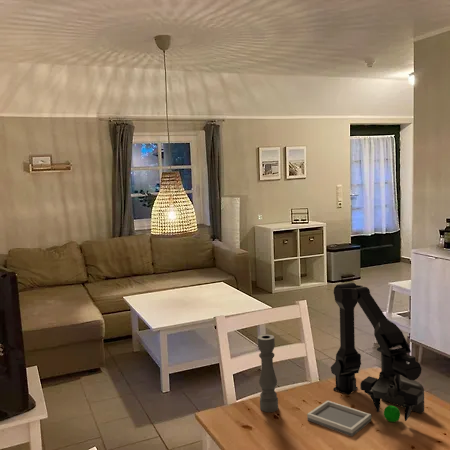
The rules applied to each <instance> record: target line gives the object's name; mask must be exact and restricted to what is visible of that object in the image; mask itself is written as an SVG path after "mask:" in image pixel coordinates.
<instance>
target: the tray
mask: <svg viewBox="0 0 450 450" xmlns="http://www.w3.org/2000/svg"><path fill="white" fill-rule="evenodd" d="M306 416H307V418H306V419H307V421H309V422H312V423H314V424H317V425H319V426H322V427H325V428H327V429H330V430H333V431H336V432H338V433H341V434H344V435H346V436H350V437H354V436H355V435H356V434H357V433H359V432H360V431H361V430H362V429H363V428H365V427H366V426H367V425H368V424H369V423H371V422H372V414H371V413H368V412H364V411H362V410H359V409H356V408H353V407H350V406H347V405H343V404H340V403H337V402H334V401H331V400H325V401H324V402H322V404H320V405H318V406H317V407H315V408H314V409H312V410H311V411H309V412H307V414H306Z"/></svg>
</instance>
